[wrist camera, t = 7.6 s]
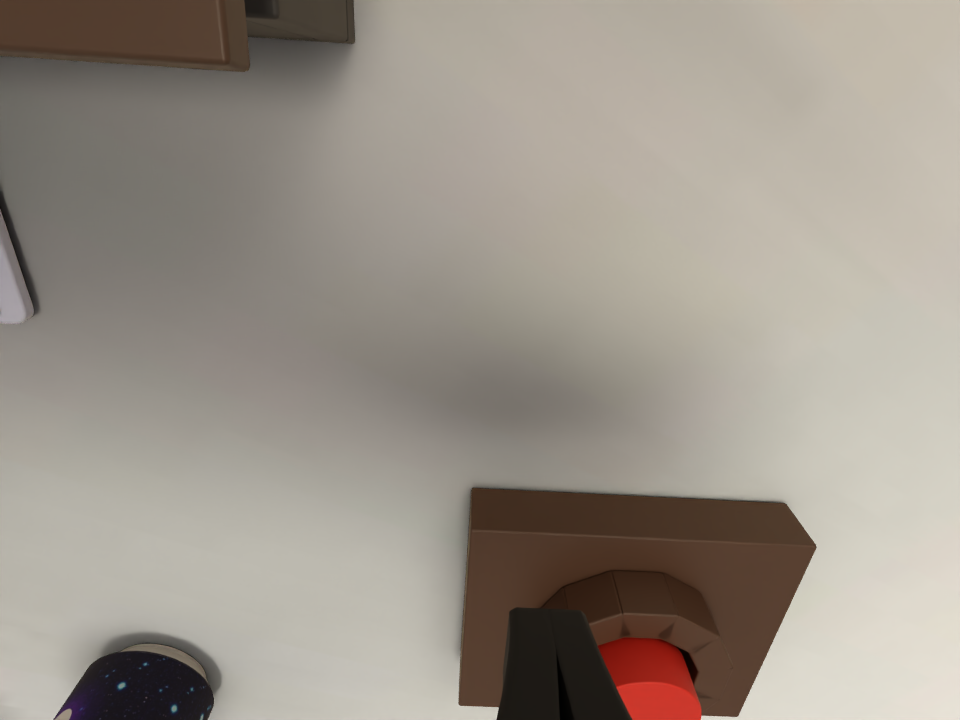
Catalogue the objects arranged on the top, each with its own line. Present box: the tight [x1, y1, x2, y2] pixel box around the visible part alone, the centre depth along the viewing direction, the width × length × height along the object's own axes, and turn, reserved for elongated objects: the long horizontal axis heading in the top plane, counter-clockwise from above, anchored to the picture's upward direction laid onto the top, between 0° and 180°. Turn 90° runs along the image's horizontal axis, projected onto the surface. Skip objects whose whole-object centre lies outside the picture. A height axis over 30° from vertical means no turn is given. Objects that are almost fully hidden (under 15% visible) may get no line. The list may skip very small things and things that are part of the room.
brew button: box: [598, 637, 702, 720], centre depth 19 cm, size 4×4×2 cm
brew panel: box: [458, 488, 816, 717], centre depth 21 cm, size 12×10×4 cm
